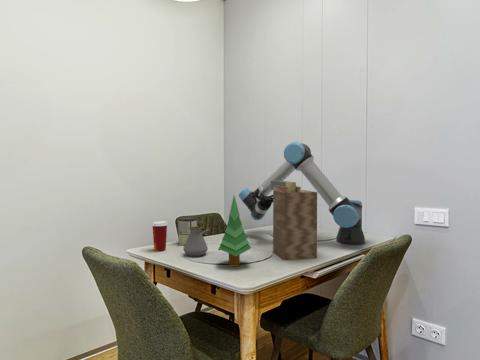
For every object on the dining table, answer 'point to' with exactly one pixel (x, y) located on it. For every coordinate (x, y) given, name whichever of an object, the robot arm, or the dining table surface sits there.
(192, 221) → the coffee can
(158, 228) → the paper cup
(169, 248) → the dining table surface
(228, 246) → the decorative tree
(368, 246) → the dining table surface
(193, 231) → the coffee pot
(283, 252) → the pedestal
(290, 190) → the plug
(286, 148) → the robot arm
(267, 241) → the dining table surface
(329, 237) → the dining table surface
